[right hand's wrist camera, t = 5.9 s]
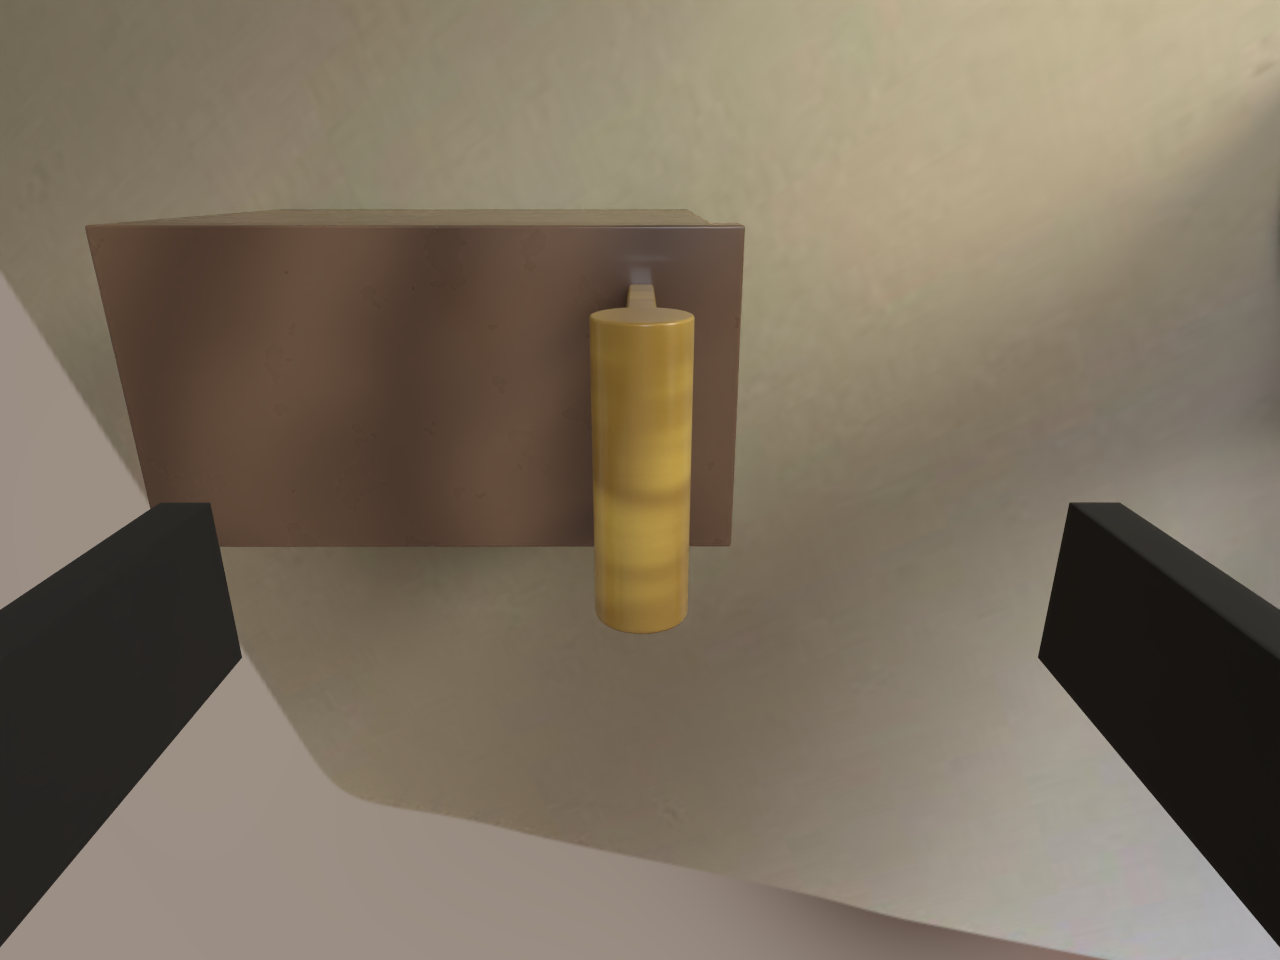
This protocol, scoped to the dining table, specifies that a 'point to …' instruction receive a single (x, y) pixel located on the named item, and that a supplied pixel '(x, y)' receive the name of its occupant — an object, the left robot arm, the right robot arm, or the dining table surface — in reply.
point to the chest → (445, 216)
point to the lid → (440, 386)
